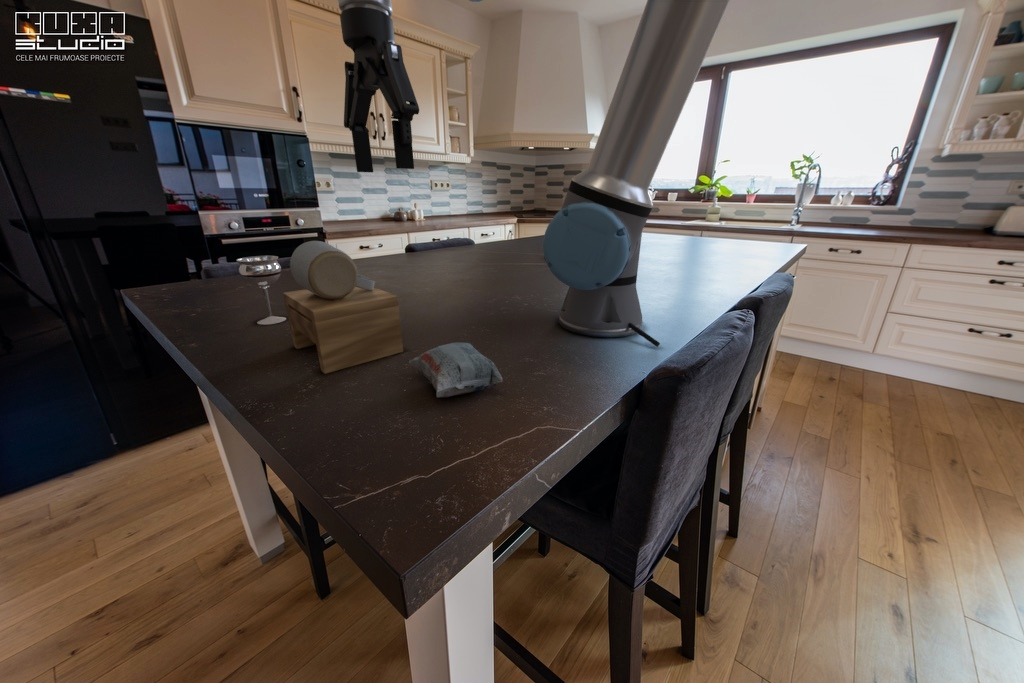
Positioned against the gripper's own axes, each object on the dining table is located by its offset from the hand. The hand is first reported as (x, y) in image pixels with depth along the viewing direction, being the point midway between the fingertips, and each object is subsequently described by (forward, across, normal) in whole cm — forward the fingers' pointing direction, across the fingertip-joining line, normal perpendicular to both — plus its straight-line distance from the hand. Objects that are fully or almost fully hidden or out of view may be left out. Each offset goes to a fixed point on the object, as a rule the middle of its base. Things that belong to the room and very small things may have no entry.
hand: (384, 170), depth 66 cm
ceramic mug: (+18, +6, -13) cm, 23 cm away
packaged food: (+27, +28, -9) cm, 40 cm away
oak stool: (+27, +6, -13) cm, 30 cm away
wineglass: (+27, -19, -17) cm, 37 cm away
